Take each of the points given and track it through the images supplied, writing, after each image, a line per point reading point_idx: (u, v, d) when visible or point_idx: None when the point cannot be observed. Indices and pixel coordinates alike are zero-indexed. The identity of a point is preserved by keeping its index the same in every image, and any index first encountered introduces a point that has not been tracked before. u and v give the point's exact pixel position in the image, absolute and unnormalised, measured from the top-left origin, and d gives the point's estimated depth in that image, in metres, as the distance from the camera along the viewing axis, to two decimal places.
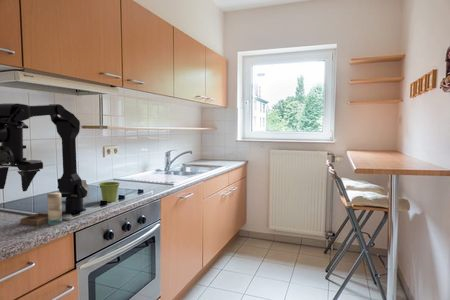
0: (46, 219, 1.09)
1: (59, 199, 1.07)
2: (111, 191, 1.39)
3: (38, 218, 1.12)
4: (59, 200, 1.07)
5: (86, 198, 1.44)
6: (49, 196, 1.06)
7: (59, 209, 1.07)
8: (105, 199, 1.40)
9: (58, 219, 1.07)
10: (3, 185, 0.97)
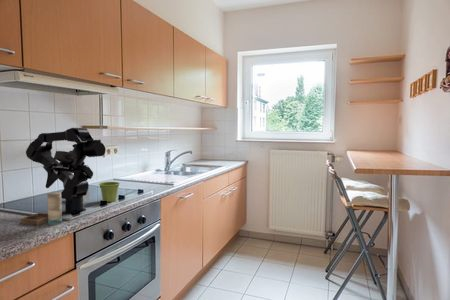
0: (46, 219, 1.09)
1: (59, 199, 1.07)
2: (111, 191, 1.39)
3: (38, 218, 1.12)
4: (59, 200, 1.07)
5: (86, 198, 1.44)
6: (49, 196, 1.06)
7: (59, 209, 1.07)
8: (105, 199, 1.40)
9: (58, 219, 1.07)
10: (49, 185, 1.11)
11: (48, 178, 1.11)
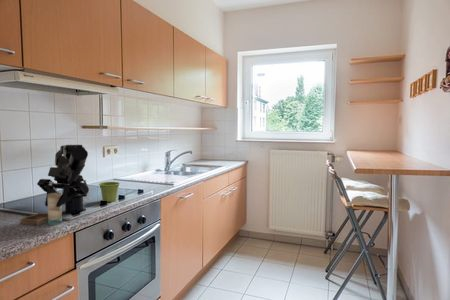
0: (46, 219, 1.09)
1: None
2: (111, 191, 1.39)
3: (38, 218, 1.12)
4: None
5: (86, 198, 1.44)
6: (49, 196, 1.06)
7: (59, 209, 1.07)
8: (105, 199, 1.40)
9: (58, 219, 1.07)
10: None
11: None
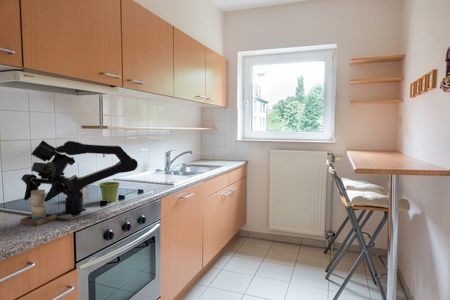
0: (46, 219, 1.09)
1: (42, 196, 1.09)
2: (111, 191, 1.39)
3: None
4: (42, 197, 1.09)
5: (86, 198, 1.44)
6: (32, 193, 1.07)
7: (43, 206, 1.09)
8: (105, 199, 1.40)
9: (42, 215, 1.09)
10: (27, 197, 1.10)
11: (27, 190, 1.10)
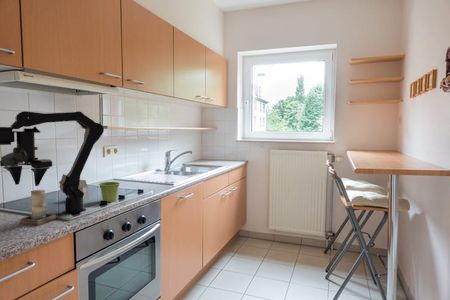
0: (46, 219, 1.09)
1: (43, 196, 1.09)
2: (111, 191, 1.39)
3: None
4: (43, 197, 1.09)
5: (86, 198, 1.44)
6: (32, 193, 1.07)
7: (43, 206, 1.09)
8: (105, 199, 1.40)
9: (42, 216, 1.09)
10: (18, 181, 1.14)
11: (13, 176, 1.12)
